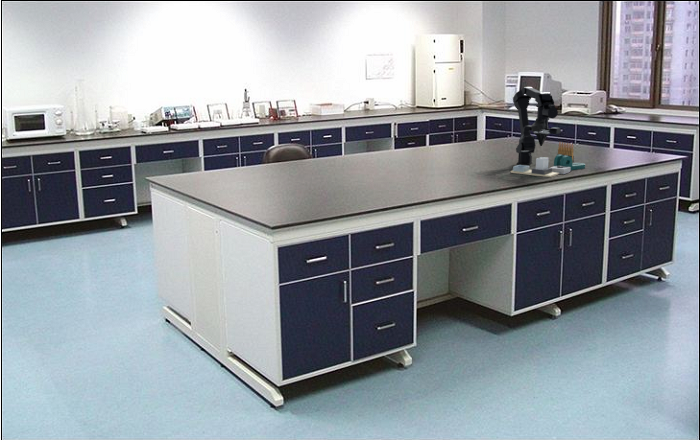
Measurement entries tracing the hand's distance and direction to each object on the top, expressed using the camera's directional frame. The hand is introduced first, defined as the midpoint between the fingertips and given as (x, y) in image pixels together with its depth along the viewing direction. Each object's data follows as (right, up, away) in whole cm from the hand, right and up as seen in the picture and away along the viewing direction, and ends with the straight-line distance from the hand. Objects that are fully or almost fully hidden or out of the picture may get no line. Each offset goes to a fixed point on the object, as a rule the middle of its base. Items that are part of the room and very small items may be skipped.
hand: (541, 145), depth 382 cm
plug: (-3, -15, -13) cm, 20 cm away
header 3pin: (-12, -14, -6) cm, 20 cm away
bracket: (+16, -12, +2) cm, 21 cm away
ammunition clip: (+18, -8, +18) cm, 27 cm away
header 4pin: (-3, -16, -13) cm, 21 cm away
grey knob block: (+8, -15, -8) cm, 18 cm away
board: (-6, -15, -11) cm, 20 cm away
